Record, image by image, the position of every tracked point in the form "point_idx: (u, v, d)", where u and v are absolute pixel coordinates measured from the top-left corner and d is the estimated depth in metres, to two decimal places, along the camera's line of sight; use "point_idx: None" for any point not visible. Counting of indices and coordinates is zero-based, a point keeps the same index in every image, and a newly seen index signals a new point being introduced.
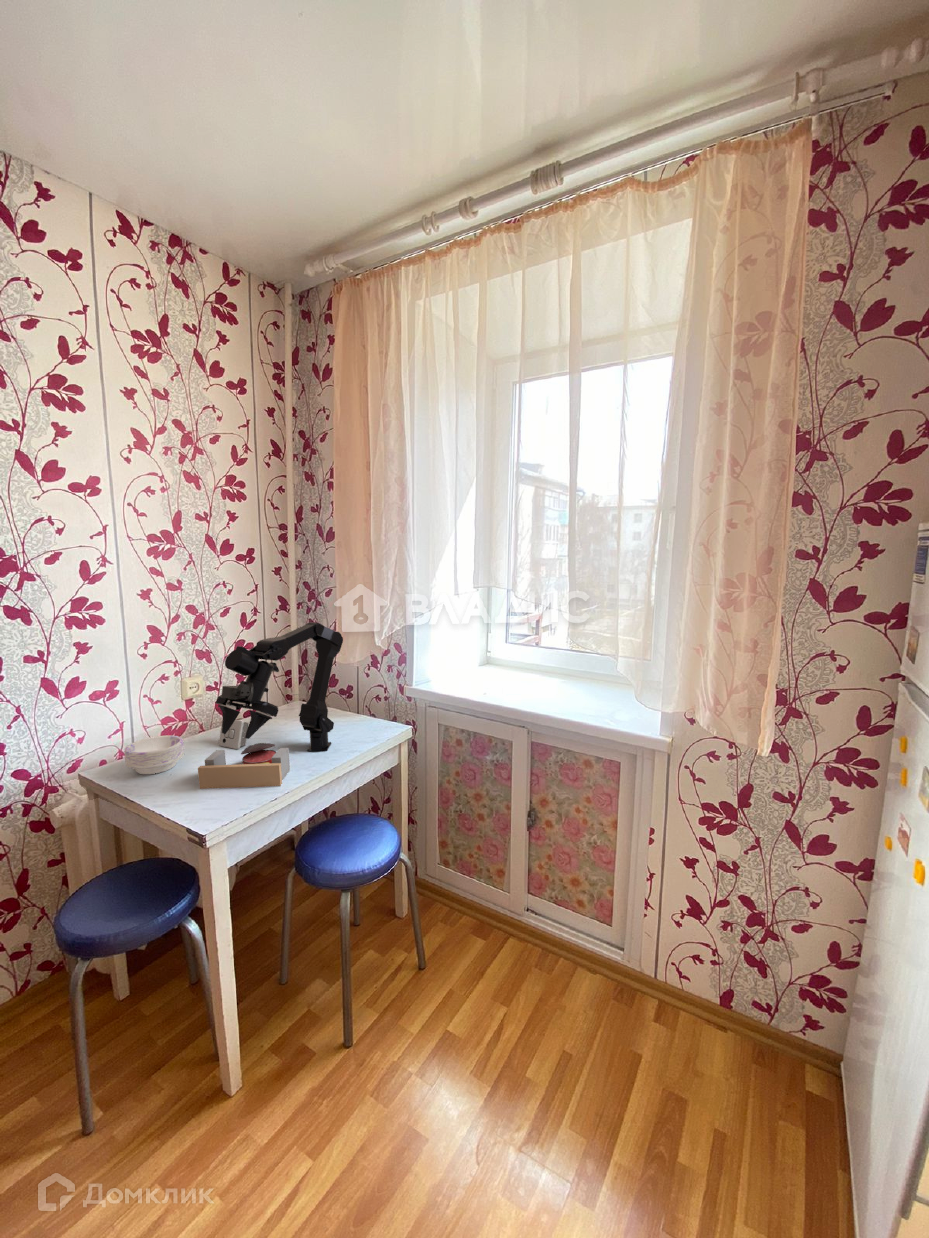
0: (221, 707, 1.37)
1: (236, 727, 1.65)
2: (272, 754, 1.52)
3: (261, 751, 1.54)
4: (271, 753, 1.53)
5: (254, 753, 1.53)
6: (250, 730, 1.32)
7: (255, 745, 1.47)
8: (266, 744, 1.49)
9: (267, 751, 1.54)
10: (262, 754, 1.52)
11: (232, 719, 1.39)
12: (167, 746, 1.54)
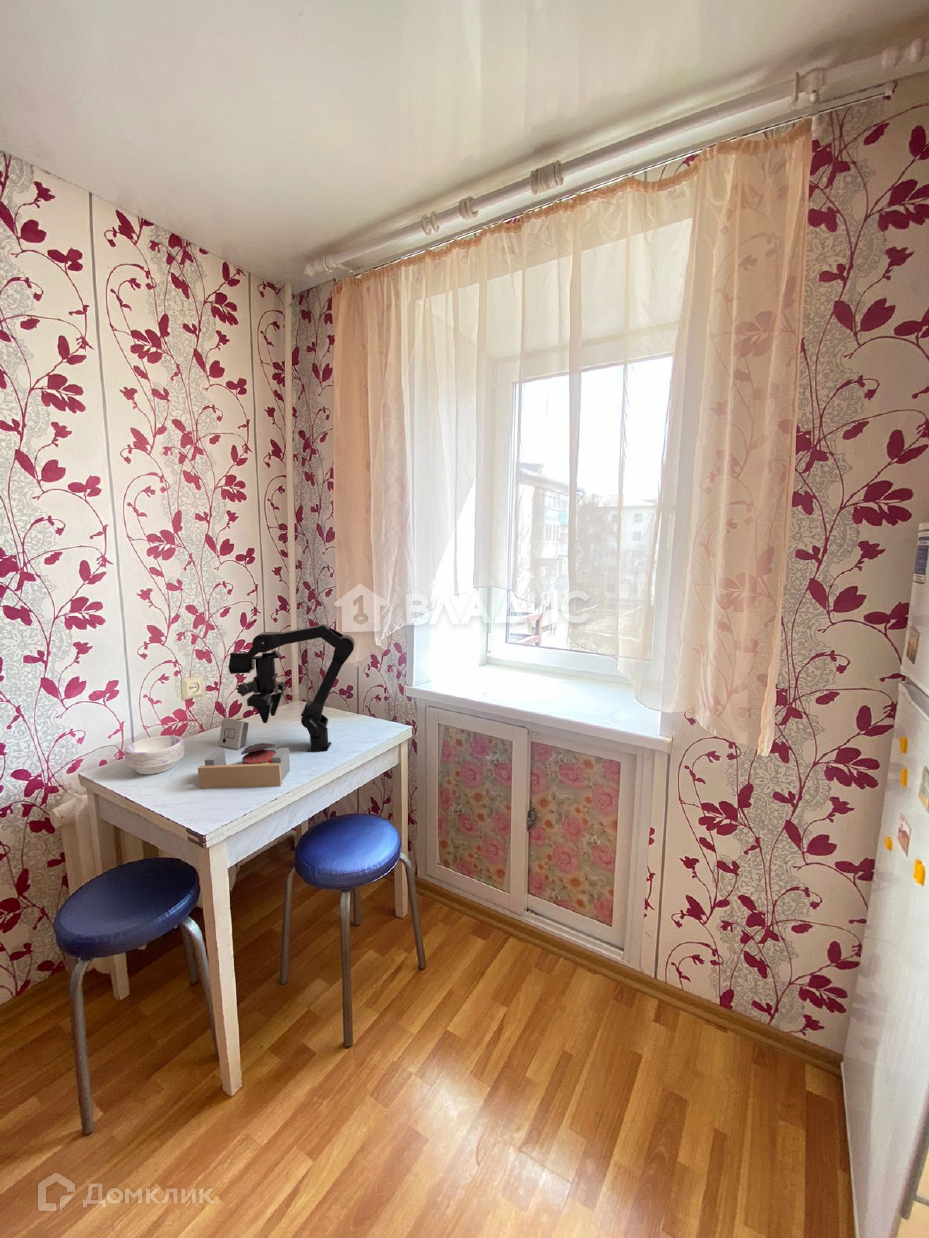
0: None
1: (236, 727, 1.65)
2: (272, 754, 1.52)
3: (261, 751, 1.54)
4: (271, 753, 1.53)
5: (254, 753, 1.53)
6: (262, 717, 1.55)
7: (255, 745, 1.47)
8: (266, 744, 1.49)
9: (267, 751, 1.54)
10: (262, 754, 1.52)
11: (275, 702, 1.63)
12: (167, 746, 1.54)
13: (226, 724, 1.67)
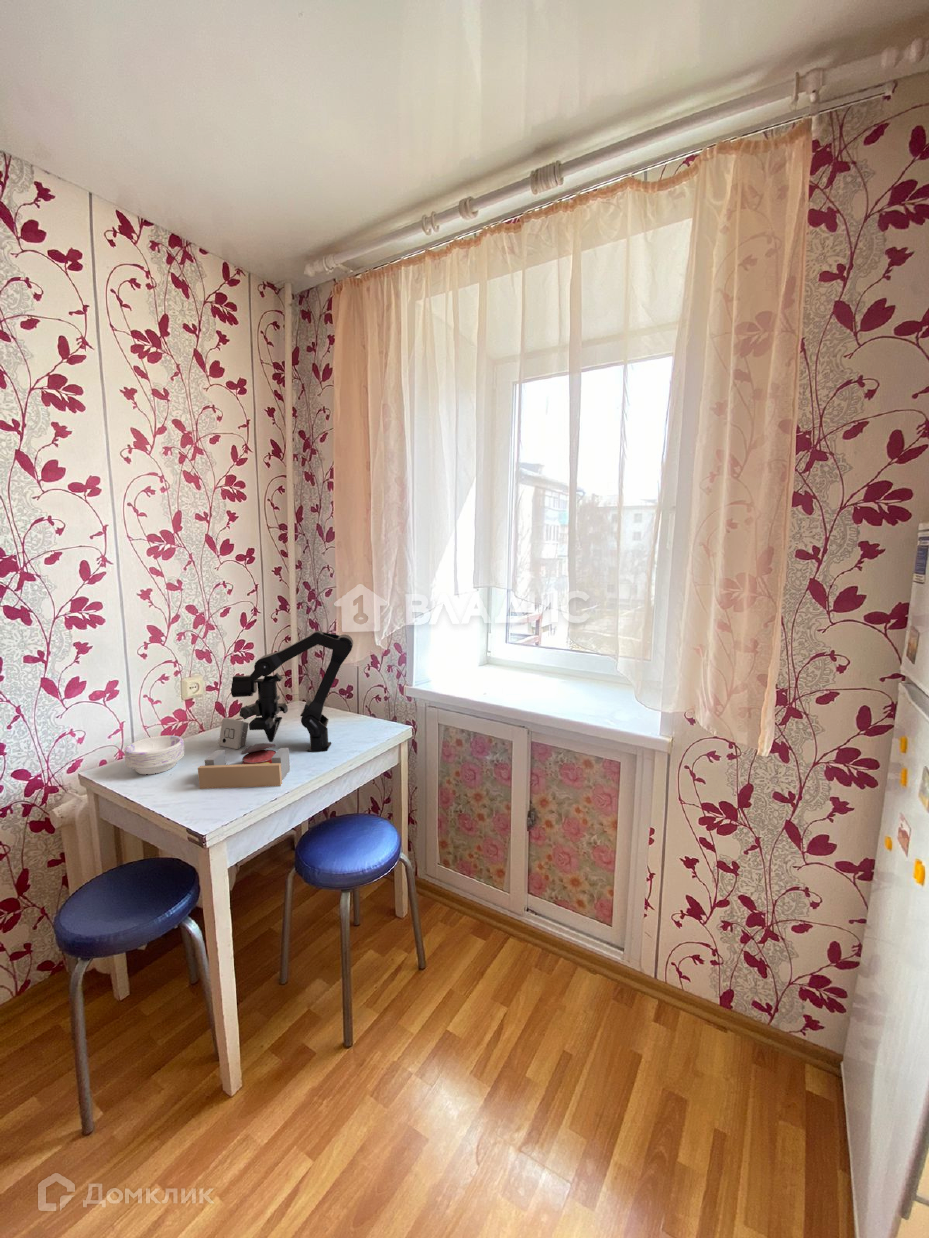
0: None
1: (236, 727, 1.65)
2: (272, 754, 1.52)
3: (261, 751, 1.54)
4: (271, 753, 1.53)
5: (254, 753, 1.53)
6: (267, 736, 1.59)
7: (255, 745, 1.47)
8: (266, 744, 1.49)
9: (267, 751, 1.54)
10: (262, 754, 1.52)
11: None
12: (167, 746, 1.54)
13: (226, 724, 1.67)
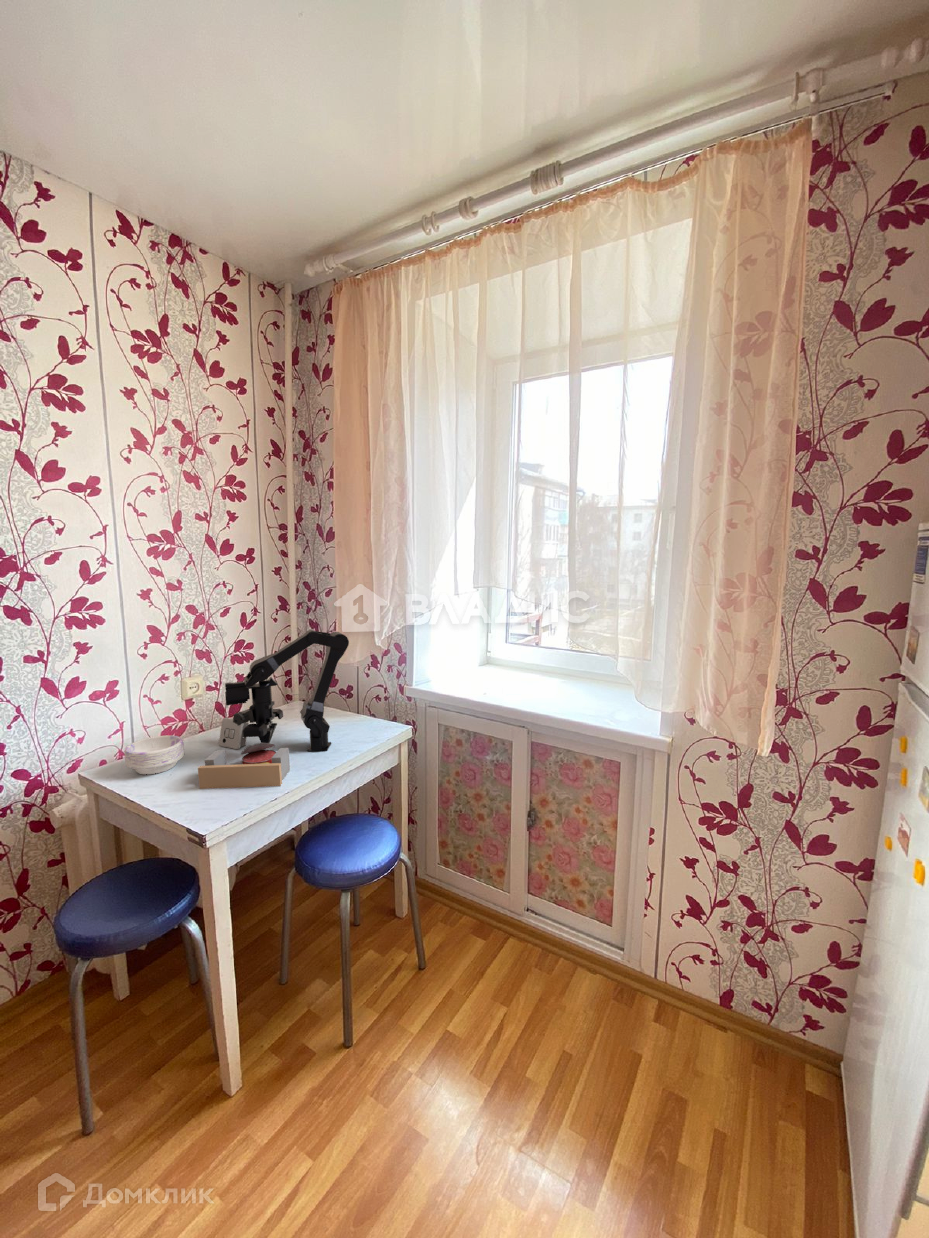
0: None
1: (236, 727, 1.65)
2: (272, 754, 1.52)
3: (261, 751, 1.54)
4: (271, 753, 1.53)
5: (254, 753, 1.53)
6: (262, 742, 1.54)
7: (255, 745, 1.46)
8: (266, 744, 1.49)
9: (267, 751, 1.54)
10: (262, 754, 1.52)
11: None
12: (167, 746, 1.54)
13: (226, 724, 1.67)
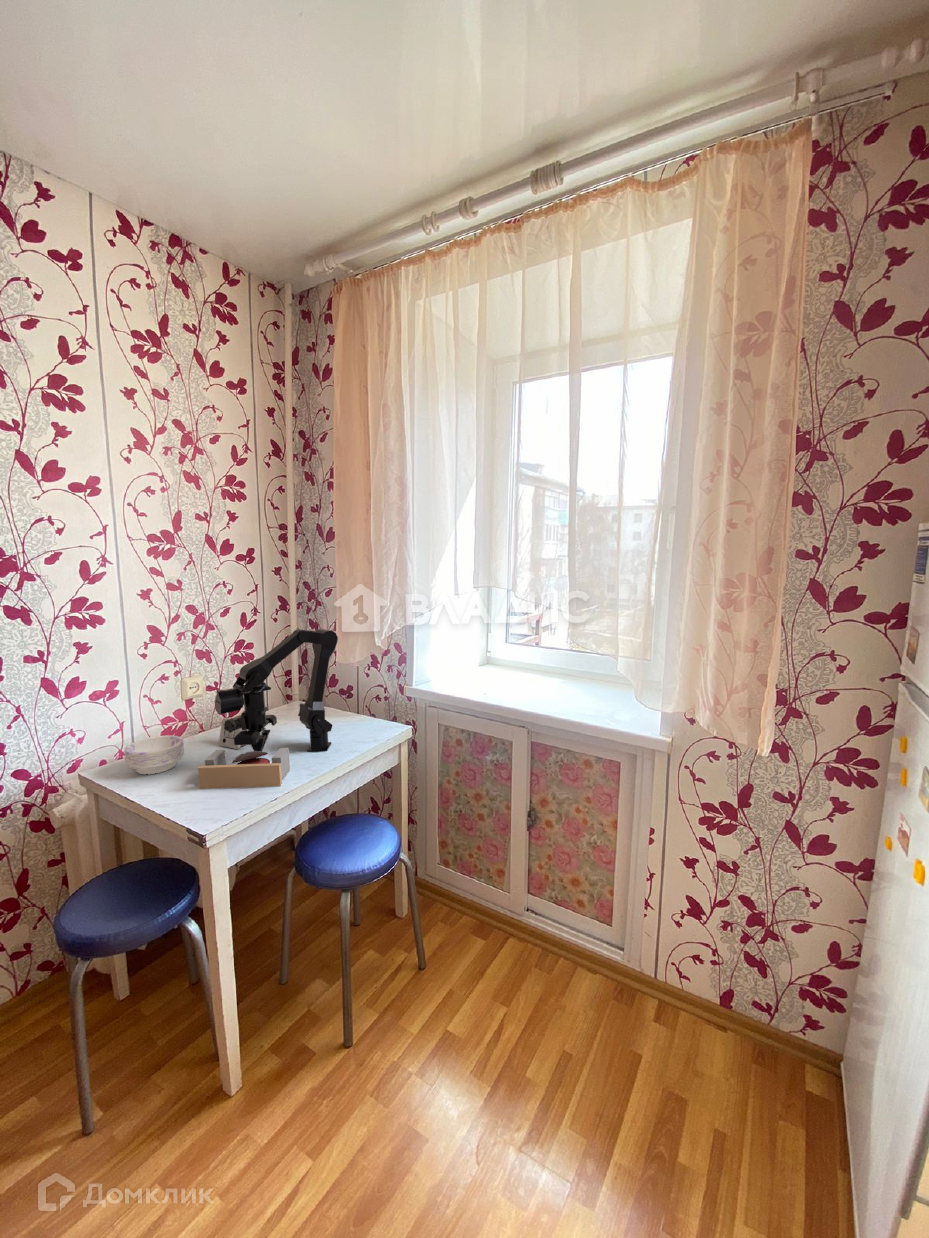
0: None
1: None
2: (265, 763, 1.46)
3: (254, 759, 1.48)
4: (264, 761, 1.47)
5: (246, 761, 1.47)
6: (254, 750, 1.48)
7: (247, 753, 1.40)
8: (258, 752, 1.43)
9: (260, 759, 1.48)
10: (254, 762, 1.46)
11: None
12: (167, 746, 1.54)
13: None
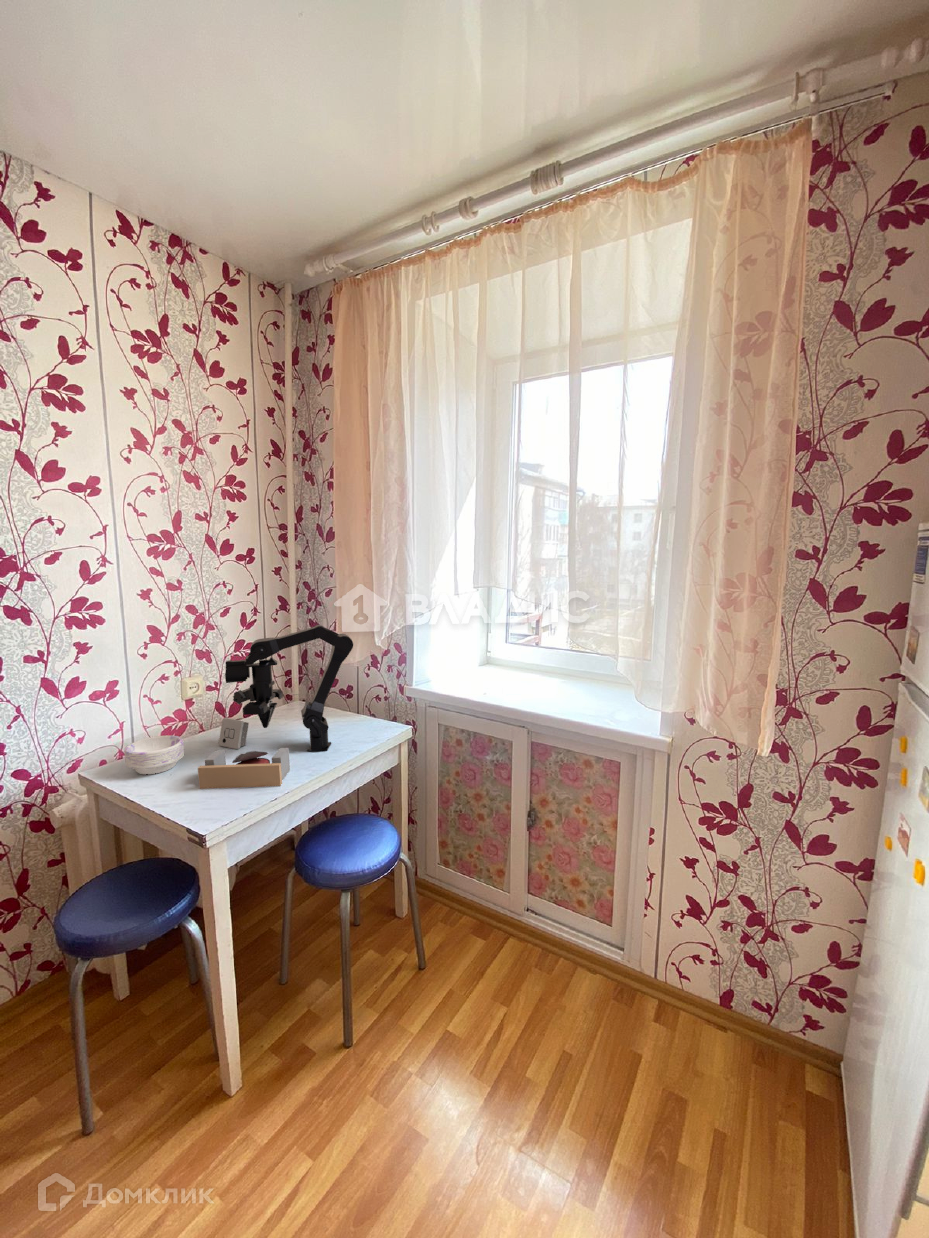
0: None
1: (236, 727, 1.65)
2: (265, 763, 1.46)
3: (254, 759, 1.48)
4: (264, 761, 1.47)
5: (246, 761, 1.47)
6: (262, 722, 1.55)
7: (247, 753, 1.40)
8: (258, 752, 1.42)
9: (260, 759, 1.48)
10: (254, 762, 1.46)
11: None
12: (167, 746, 1.54)
13: (226, 724, 1.67)
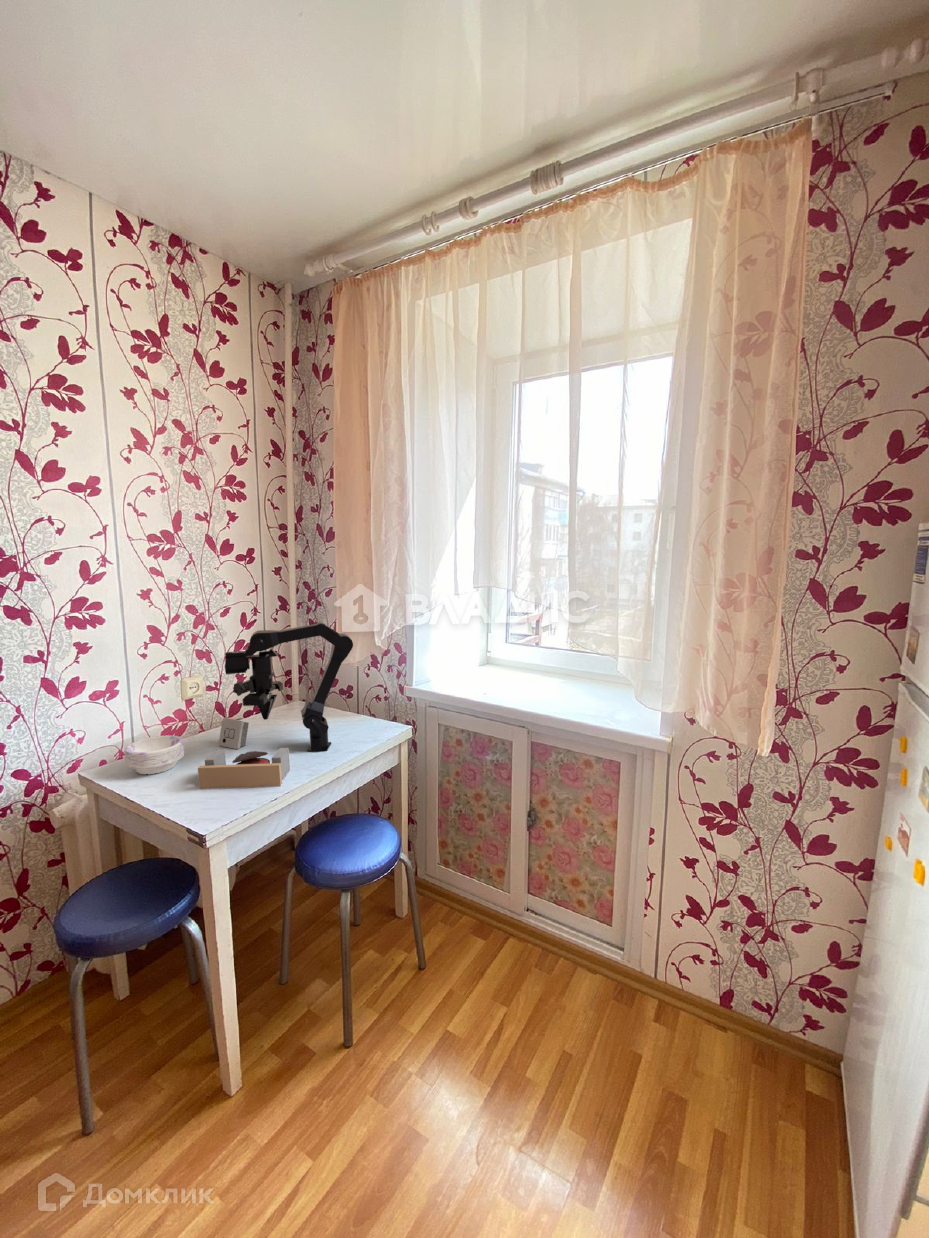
0: None
1: (236, 727, 1.65)
2: (265, 763, 1.46)
3: (254, 759, 1.48)
4: (264, 761, 1.47)
5: (246, 761, 1.47)
6: (262, 713, 1.55)
7: (247, 753, 1.40)
8: (258, 752, 1.42)
9: (260, 759, 1.48)
10: (255, 762, 1.46)
11: None
12: (167, 746, 1.54)
13: (226, 724, 1.67)
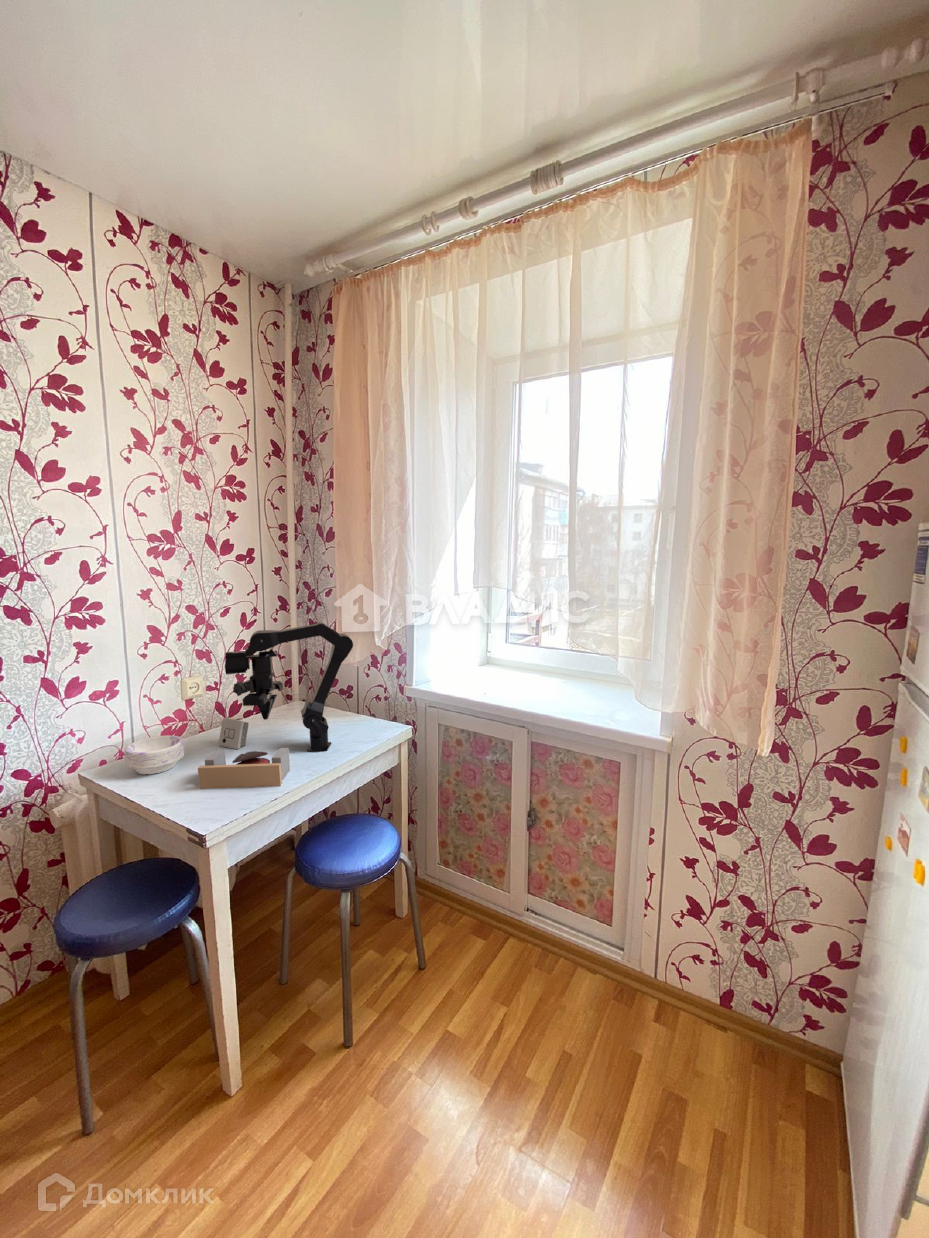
0: None
1: (236, 727, 1.65)
2: (265, 763, 1.46)
3: (254, 759, 1.48)
4: (264, 761, 1.47)
5: (246, 761, 1.47)
6: (262, 713, 1.55)
7: (247, 753, 1.40)
8: (258, 752, 1.42)
9: (260, 759, 1.48)
10: (255, 762, 1.46)
11: None
12: (167, 746, 1.54)
13: (226, 724, 1.67)
